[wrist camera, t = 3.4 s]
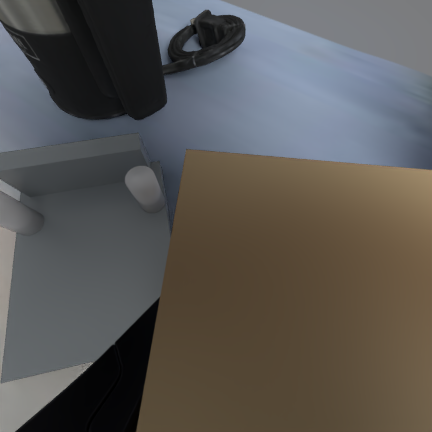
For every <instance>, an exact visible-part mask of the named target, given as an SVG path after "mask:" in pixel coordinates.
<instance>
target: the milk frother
mask: <svg viewBox="0 0 432 432" xmlns="http://www.w3.org/2000/svg"><path fill="white" fill-rule="evenodd" d="M0 22H1V23H2V25H3V26H4V28H5V29H6V31H7V32H8V33H9V35H10V36H11V37H12V39H13V40H14V42H15V43H16V44H17V45H18V46H19V48H20V49H21V50H22V51H23V53H24V54H25V56H26V57H27V59H28V60H29V61H30V63H31V64H32V66H33V67H34V70H35V72H36V73H37V75H38V76H39V78H40V79H41V81H42V82H43V84H44V85H45V86H46V88H47V89H48V90H49V93H50V96H51V98H52V99H53V101H54V102H55V103H56V105H57V106H58V107H59V108H60V109H62V110H63V111H65V112H67V113H68V114H71V115H73V116H76V117H79V118H85V119H106V118H111V117H116V116H120V115H123V114H125V113H127V114H128V115H129V116H131V117H132V118H134V119H135V120H142V119H144V118H146V117H148V116H150V115H152V114H153V113H155V112H157V111H158V110H160V109H161V108H163V107H164V106H165V104H166V103H167V95H166V88H165V80H164V76H163V75H167V74H173V73H177V72H181V71H185V70H189V69H192V68H196V67H199V66H203V65H206V64H208V63H211V62H213V61H215V60H217V59H220V58H222V57H224V56H225V55H227V54H229V53H230V52H232V51H233V50H235V49H236V48H237V47H238V46H239V45H240V44H241V43H242V42H243V40H244V38H245V24H244V22H243V20H242V19H240V18H239V17H236V16H233V15H220V16H215V15H211V12H210V11H209V10H205V11H203V12H202V13H201V14H199V15H198V16H197V17H196V18H193V19H191V25H190V26H186V27H185V28H184V29H182V30H180V31H179V32H178V33H177V34H176V35H174V37H173V38H172V39H171V41H170V44H169V47H168V55H169V56H170V58H171V60H172V61H173V62H174V63H170V64H167V65H163V66H162V62H161V55H160V49H159V43H158V37H157V30H156V25H155V18H154V10H153V5H152V0H0ZM194 34H198V37H199V41H200V44H201V45H202V47H203V49H201V50H199V51H191V52H186V51H183V50H182V47H183V45H184V43H185V42H186V41H187V40H188V39H189V38H190V37H191V36H193V35H194Z"/></svg>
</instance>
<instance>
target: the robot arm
mask: <svg viewBox="0 0 432 432" xmlns="http://www.w3.org/2000/svg"><path fill="white" fill-rule="evenodd" d="M159 300H160V297H159V298H158V299H157V300H156V301H155V302H154V303H153V304H152V305H151V306H150V307H149V308H148V309H147V310H146V311H145V312H144V313H143V314H142V315H141V316H140V317H139V318H138V319H137V320H136V321H135V322H134V323H133V324H132V325H131V326H130V327H129V328H128V329H127V330H126V331H125V332H124V333H123V334H122V335H121V336H120V337H119V338H118V339H117V340H116V341H115V343H114V344H115V345H114V344H112V345H111V346H110V347H109V348H108V349H107V350H106V351H105V352H104V353H103V354H102V355H101V356H100V357H99V358H98V359H97V360H96V361H95V362H94V363H93V364H92V365H91V366H90V367H89V368H88V369H87V370H86V371H85V372H84V373H83V374H81V375H80V376H79V377H78V378H77V379H76V380H75V381H73V382H72V383H71V384H70V385H69V386H68V387H67V388H66V389H64V390H63V391H62V392H61V393H60V394H59V395H58V396H56V397H55V398H54V399H53V400H52V401H50V402H49V403H48V404H47V405H46V406H45V407H43V408H42V409H41V410H40V411H39V412H38V413H36V414H35V415H34V416H33V417H32V418H31V419H29V420H28V421H27V422H26V423H25V424H23V425H22V426H21V427H20V428H19V429H18V430H16V431H15V432H136V430H137V425H138V419H139V413H140V408H141V402H142V396H143V391H144V385H145V380H146V374H147V368H148V363H149V357H150V351H151V346H152V340H153V334H154V329H155V323H156V317H157V312H158V306H159Z"/></svg>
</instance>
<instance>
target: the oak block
mask: <svg viewBox="0 0 432 432" xmlns="http://www.w3.org/2000/svg"><path fill="white" fill-rule="evenodd" d="M136 432H432V170H425V169H414V168H402V167H390V166H378V165H367V164H355V163H343V162H332V161H320V160H308V159H296V158H285V157H273V156H261V155H249V154H238V153H226V152H214V151H202V150H191V149H186V154H185V159H184V165H183V171H182V176H181V182H180V188H179V193H178V199H177V204H176V210H175V216H174V221H173V227H172V233H171V238H170V244H169V250H168V255H167V261H166V267H165V272H164V278H163V284H162V289H161V295H160V300H159V306H158V312H157V317H156V323H155V329H154V334H153V340H152V346H151V351H150V357H149V363H148V368H147V374H146V380H145V385H144V391H143V396H142V402H141V408H140V413H139V419H138V425H137V430H136Z"/></svg>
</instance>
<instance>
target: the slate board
mask: <svg viewBox="0 0 432 432" xmlns="http://www.w3.org/2000/svg"><path fill="white" fill-rule="evenodd" d="M0 179H1V180H3V181H4V182H6V183H7V184H9V185H11V186H12V187H14V188H16V189H17V190H19V191H20V192H21V195H20V202H19V201H17V200H16V199H14V198H12V197H10V196H9V195H7V194H5V193H3V192H1V191H0V226H1V227H4V228H6V229H9V230H11V231H14V232H16V242H15V252H14V261H13V271H12V280H11V290H10V299H9V309H8V318H7V328H6V337H5V347H4V356H3V366H2V376H1V383H4V382H8V381H13V380H17V379H21V378H25V377H30V376H34V375H38V374H42V373H46V372H51V371H55V370H59V369H63V368H67V367H72V366H76V365H80V364H84V363H89V362H93V361H96V360H97V359H98V358H99V357H100V356H101V355H102V354H103V353H104V352H105V351H106V350H107V349H108V348H109V347H110V346H111V345H112V344H114V343H115V341H116V340H117V339H118V338H119V337H120V336H121V335H122V334H123V333H124V332H125V331H126V330H127V329H128V328H129V327H130V326H131V325H132V324H133V323H134V322H135V321H136V320H137V319H138V318H139V317H140V316H141V315H142V314H143V313H144V312H145V311H146V310H147V309H148V308H149V307H150V306H151V305H152V304H153V303H154V302H155V301H156V300H157V299H158V298H159V297H160V295H161V289H162V284H163V278H164V272H165V267H166V261H167V255H168V250H169V244H170V238H171V227H170V220H169V213H168V206H167V199H166V193H165V186H164V179H163V172H162V167H161V165H160V162H159V161H157V162H150V159H149V157H148V154H147V152H146V149H145V147H144V144H143V142H142V140H141V137H140V135H139V133H133V134H126V135H119V136H112V137H106V138H99V139H92V140H85V141H78V142H72V143H65V144H58V145H51V146H44V147H37V148H31V149H24V150H17V151H10V152H3V153H0ZM114 345H115V344H114Z"/></svg>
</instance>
